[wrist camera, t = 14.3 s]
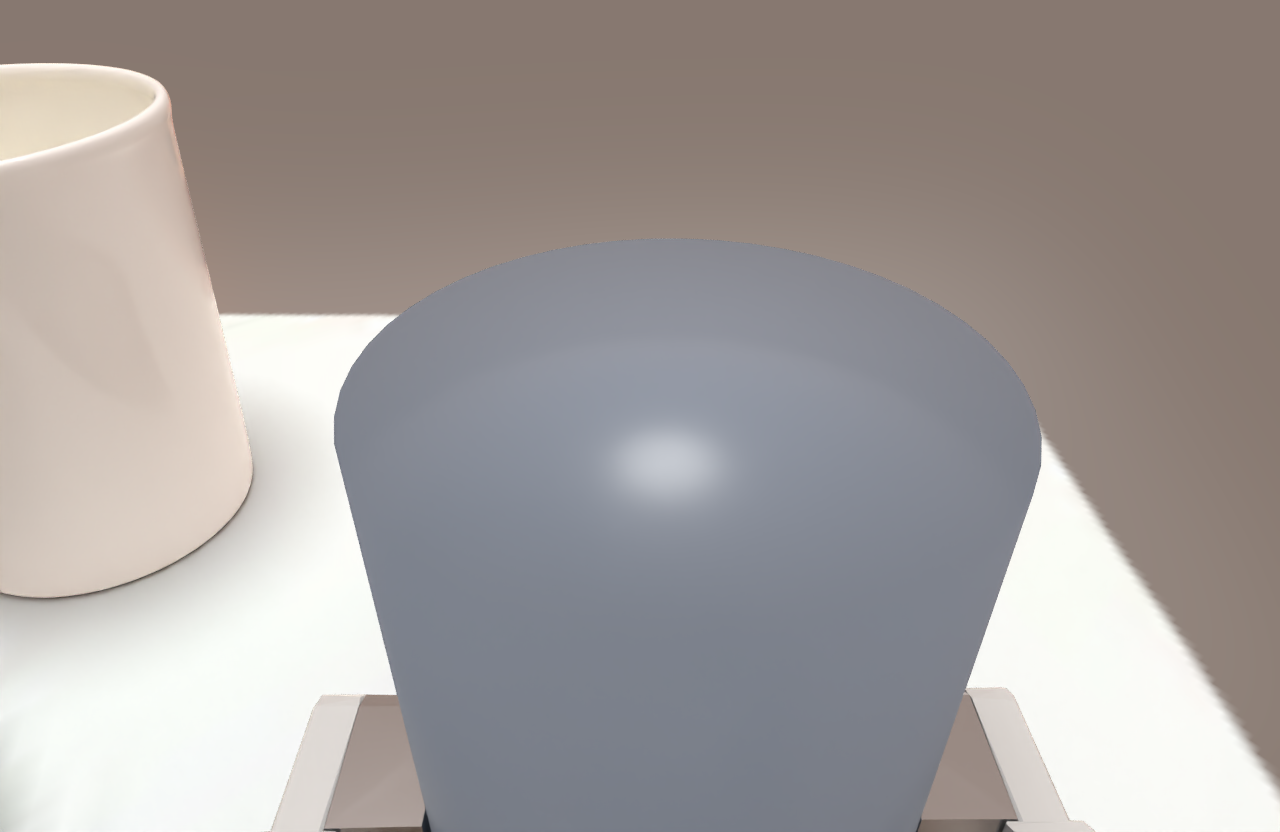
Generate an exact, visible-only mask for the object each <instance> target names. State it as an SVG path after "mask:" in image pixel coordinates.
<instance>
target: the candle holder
mask: <svg viewBox="0 0 1280 832" xmlns="http://www.w3.org/2000/svg"><path fill="white" fill-rule="evenodd" d="M252 474H253V463H252V455H251V449H250V444H249V439H248V435H247V430H246V426H245V421H244V417H243V413H242V408H241V404H240V400H239V396H238V391H237V387H236V383H235V379H234V375H233V371H232V366H231V362H230V358H229V354H228V350H227V346H226V342H225V337H224V333H223V329H222V325H221V321H220V317H219V313H218V309H217V305H216V300H215V296H214V292H213V288H212V284H211V280H210V276H209V272H208V268H207V263H206V259H205V255H204V251H203V247H202V243H201V239H200V235H199V231H198V226H197V222H196V219H195V214H194V210H193V206H192V202H191V198H190V194H189V190H188V185H187V182H186V178H185V173H184V169H183V165H182V161H181V156H180V152H179V148H178V144H177V139H176V135H175V131H174V126H173V121H172V111H171V102H170V98H169V95H168V93H167V91H166V89H165V88H164V87H163V85H162V84H161V83H159V82H158V81H157V80H155V79H153V78H151V77H149V76H147V75H144V74H141V73H138V72H134V71H130V70H126V69H121V68H115V67H107V66H99V65H86V64H61V63H58V64H57V63H33V64H5V65H0V592H1V593H5V594H9V595H15V596H22V597H35V598H50V597H65V596H73V595H80V594H86V593H91V592H95V591H100V590H104V589H108V588H111V587H115V586H118V585H121V584H125V583H128V582H130V581H133V580H136V579H139V578H141V577H144V576H146V575H149V574H151V573H153V572H155V571H158V570H160V569H162V568H164V567H166V566H168V565H170V564H172V563H174V562H175V561H177V560H179V559H181V558H182V557H184V556H186V555H187V554H189V553H191V552H192V551H194V550H195V549H197V548H198V547H199V546H201V545H202V544H204V543H205V542H206V541H208V540H209V539H210V538H211V537H212V536H214V535H215V534H216V533H217V532H218V531H219V530H220V529H221V528H222V527H224V526H225V524H226V523H227V522H228V521H229V520H230V519H231V518H232V517H233V516H234V514H235V513H236V512H237V510H238V509H239V508H240V506H241V505H242V503H243V501H244V499H245V497H246V495H247V493H248V491H249V488H250V485H251V481H252Z"/></svg>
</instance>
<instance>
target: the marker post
mask: <svg viewBox="0 0 1280 832" xmlns="http://www.w3.org/2000/svg"><path fill="white" fill-rule="evenodd" d="M1041 439H1042V437H1041V433H1040V428H1039V424H1038V419H1037V415H1036V410H1035V408H1034V406H1033V404H1032V402H1031V400H1030V397H1029V395H1028V393H1027V391H1026V389H1025V386H1024V385H1023V383H1022V382H1021V380H1020V379H1019V377H1018V376H1017V375H1016V373H1015V372H1014V370H1013V369H1012V367H1011V366H1010V365H1009V363H1008V362H1007V361H1006V360H1005V359H1004V357H1003V356H1002V355H1001V354H1000V353H999V352H998V351H997V350H996V349H995V348H994V347H993V346H992V345H991V344H990V343H989V342H988V341H987V340H986V339H985V338H984V337H983V336H981V335H980V334H979V333H978V332H976V331H975V330H974V329H973V328H972V327H970V326H969V325H968V324H967V323H965V322H964V321H963V320H961V319H960V318H958V317H957V316H955V315H954V314H952V313H951V312H949V311H948V310H946V309H944V308H943V307H942V306H940V305H938V304H937V303H935V302H933V301H931V300H929V299H927V298H926V297H924V296H922V295H920V294H918V293H916V292H914V291H912V290H911V289H908V288H906V287H904V286H902V285H899V284H897V283H895V282H892V281H890V280H888V279H886V278H883V277H881V276H878V275H876V274H873V273H870V272H867V271H864V270H861V269H859V268H856V267H853V266H850V265H847V264H843V263H840V262H836V261H833V260H829V259H826V258H822V257H819V256H814V255H810V254H805V253H801V252H796V251H791V250H787V249H781V248H775V247H769V246H762V245H757V244H750V243H739V242H730V241H720V240H703V239H638V240H621V241H611V242H602V243H594V244H585V245H580V246H574V247H568V248H562V249H556V250H551V251H547V252H543V253H539V254H534V255H530V256H526V257H522V258H519V259H516V260H512V261H509V262H506V263H503V264H499V265H496V266H493V267H490V268H487V269H485V270H483V271H480V272H478V273H475V274H472V275H470V276H467V277H465V278H462V279H460V280H458V281H456V282H454V283H452V284H450V285H448V286H446V287H444V288H442V289H440V290H438V291H436V292H434V293H432V294H431V295H429V296H427V297H426V298H424V299H423V300H421V301H419V302H418V303H416V304H414V305H413V306H411V307H410V308H408V309H407V310H406V311H404V312H403V313H402V314H401V315H399V316H398V317H397V318H395V319H394V320H393V321H392V322H390V323H389V324H388V325H387V326H386V327H385V328H384V329H383V330H382V331H381V332H380V333H379V334H378V335H377V336H376V337H375V338H374V339H373V340H372V341H371V342H370V343H369V344H368V345H367V346H366V348H365V349H364V350H363V352H362V353H361V355H360V356H359V357H358V359H357V360H356V361H355V363H354V364H353V366H352V367H351V369H350V371H349V373H348V376H347V378H346V380H345V382H344V384H343V386H342V388H341V390H340V394H339V398H338V403H337V407H336V411H335V415H334V445H335V449H336V453H337V457H338V461H339V465H340V469H341V473H342V477H343V481H344V485H345V489H346V493H347V497H348V501H349V505H350V509H351V513H352V517H353V521H354V525H355V528H356V532H357V536H358V540H359V544H360V548H361V552H362V556H363V560H364V564H365V568H366V572H367V576H368V580H369V584H370V588H371V592H372V596H373V600H374V604H375V608H376V612H377V616H378V620H379V624H380V628H381V632H382V636H383V640H384V644H385V648H386V652H387V656H388V660H389V664H390V668H391V672H392V676H393V680H394V684H395V688H396V692H397V696H398V700H399V704H400V708H401V712H402V716H403V720H404V724H405V728H406V732H407V736H408V740H409V744H410V748H411V752H412V756H413V760H414V764H415V768H416V772H417V776H418V780H419V784H420V788H421V792H422V796H423V800H424V804H425V808H426V812H427V816H428V820H429V824H430V828H431V832H916V830H917V827H918V824H919V821H920V818H921V816H922V813H923V810H924V807H925V804H926V801H927V798H928V795H929V793H930V790H931V787H932V784H933V781H934V778H935V775H936V772H937V770H938V767H939V764H940V761H941V758H942V755H943V752H944V749H945V746H946V744H947V741H948V738H949V735H950V732H951V729H952V726H953V723H954V721H955V718H956V715H957V712H958V709H959V706H960V703H961V700H962V697H963V695H964V692H965V689H966V686H967V683H968V680H969V677H970V674H971V672H972V669H973V666H974V663H975V660H976V657H977V654H978V651H979V649H980V646H981V643H982V640H983V637H984V634H985V631H986V628H987V625H988V623H989V620H990V617H991V614H992V611H993V608H994V605H995V602H996V600H997V597H998V594H999V591H1000V588H1001V585H1002V582H1003V579H1004V577H1005V574H1006V571H1007V568H1008V565H1009V562H1010V559H1011V556H1012V553H1013V551H1014V548H1015V545H1016V542H1017V539H1018V536H1019V533H1020V530H1021V528H1022V525H1023V522H1024V519H1025V516H1026V513H1027V510H1028V507H1029V505H1030V502H1031V499H1032V496H1033V493H1034V489H1035V485H1036V482H1037V478H1038V475H1039V471H1040V467H1041Z"/></svg>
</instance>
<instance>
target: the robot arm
mask: <svg viewBox="0 0 1280 832" xmlns="http://www.w3.org/2000/svg"><path fill="white" fill-rule="evenodd" d="M266 832H431V828H430V824H429V820H428V816H427V812H426V808H425V804H424V800H423V796H422V792H421V788H420V784H419V780H418V776H417V772H416V768H415V764H414V760H413V756H412V752H411V748H410V744H409V740H408V736H407V732H406V728H405V724H404V720H403V716H402V712H401V708H400V704H399V700H398V696H397V695H367V694H358V695H322V696H321V698H320V699H319V701H318V702H317V704H316V705H315V706H314V708H313V710H312V713H311V716H310V719H309V721H308V724H307V727H306V730H305V733H304V736H303V739H302V742H301V745H300V748H299V750H298V753H297V756H296V759H295V762H294V765H293V768H292V771H291V774H290V776H289V779H288V782H287V785H286V788H285V791H284V794H283V797H282V800H281V803H280V805H279V808H278V811H277V814H276V817H275V820H274V823H273V826H272V829H271V831H266ZM916 832H1095V831H1094V830H1093V829H1092V828H1091V827H1090V826H1088V825H1087V824H1086V823H1085V822H1084V821H1074V820H1069V818H1068V815H1067V813H1066V811H1065V809H1064V807H1063V804H1062V802H1061V800H1060V798H1059V795H1058V793H1057V791H1056V789H1055V786H1054V784H1053V782H1052V780H1051V777H1050V775H1049V773H1048V771H1047V769H1046V766H1045V764H1044V762H1043V760H1042V757H1041V755H1040V753H1039V751H1038V748H1037V746H1036V744H1035V742H1034V740H1033V737H1032V735H1031V733H1030V731H1029V728H1028V726H1027V724H1026V722H1025V719H1024V717H1023V715H1022V713H1021V711H1020V708H1019V706H1018V704H1017V702H1016V699H1015V697H1014V696H1013V695H1012V694H1011V692H1010V691H1009V690H1008V689H1007V688H1002V687H991V688H966V689H965V692H964V695H963V697H962V700H961V703H960V706H959V709H958V712H957V715H956V718H955V721H954V723H953V726H952V729H951V732H950V735H949V738H948V741H947V744H946V746H945V749H944V752H943V755H942V758H941V761H940V764H939V767H938V770H937V772H936V775H935V778H934V781H933V784H932V787H931V790H930V793H929V795H928V798H927V801H926V804H925V807H924V810H923V813H922V816H921V818H920V821H919V824H918V827H917V830H916Z"/></svg>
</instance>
